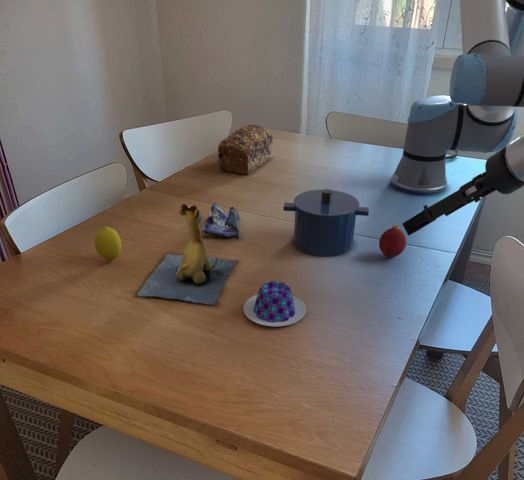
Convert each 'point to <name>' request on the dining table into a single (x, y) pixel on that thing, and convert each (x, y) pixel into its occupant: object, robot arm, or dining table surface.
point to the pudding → (274, 305)
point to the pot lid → (326, 203)
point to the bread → (245, 149)
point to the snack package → (223, 222)
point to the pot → (324, 232)
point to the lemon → (108, 243)
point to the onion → (392, 242)
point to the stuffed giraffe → (189, 269)
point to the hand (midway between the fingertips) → (425, 219)
